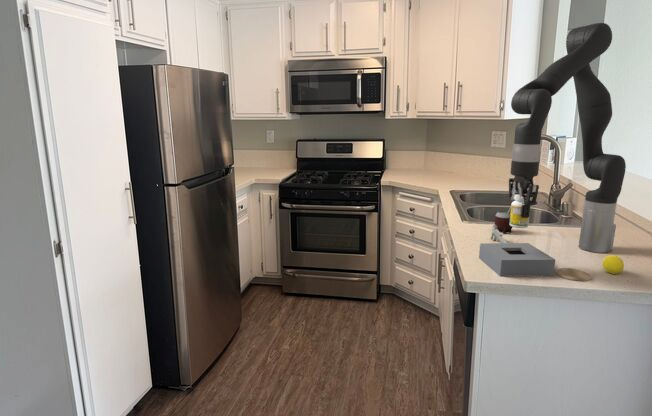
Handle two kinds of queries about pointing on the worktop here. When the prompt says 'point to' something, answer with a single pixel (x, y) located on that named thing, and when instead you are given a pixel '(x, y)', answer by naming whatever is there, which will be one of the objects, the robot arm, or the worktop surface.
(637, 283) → the worktop surface
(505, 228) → the mate gourd
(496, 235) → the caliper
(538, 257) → the box
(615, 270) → the lemon
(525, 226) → the supplement bottle
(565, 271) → the cork coaster
